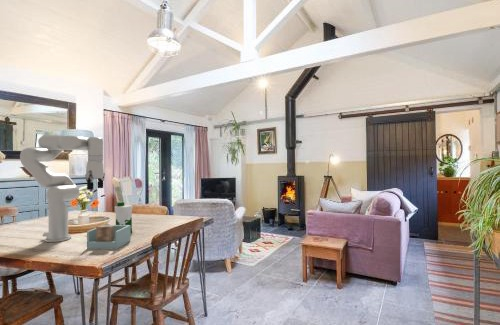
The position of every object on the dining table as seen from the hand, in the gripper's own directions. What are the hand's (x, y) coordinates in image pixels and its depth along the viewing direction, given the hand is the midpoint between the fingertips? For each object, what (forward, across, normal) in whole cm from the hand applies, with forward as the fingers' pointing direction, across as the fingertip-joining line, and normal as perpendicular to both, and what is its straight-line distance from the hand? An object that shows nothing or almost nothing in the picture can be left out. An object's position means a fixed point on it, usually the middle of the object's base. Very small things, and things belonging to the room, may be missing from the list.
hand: (95, 188), depth 153 cm
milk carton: (+31, -17, +8) cm, 36 cm away
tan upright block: (+29, +10, +11) cm, 33 cm away
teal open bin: (+30, +5, +11) cm, 33 cm away
